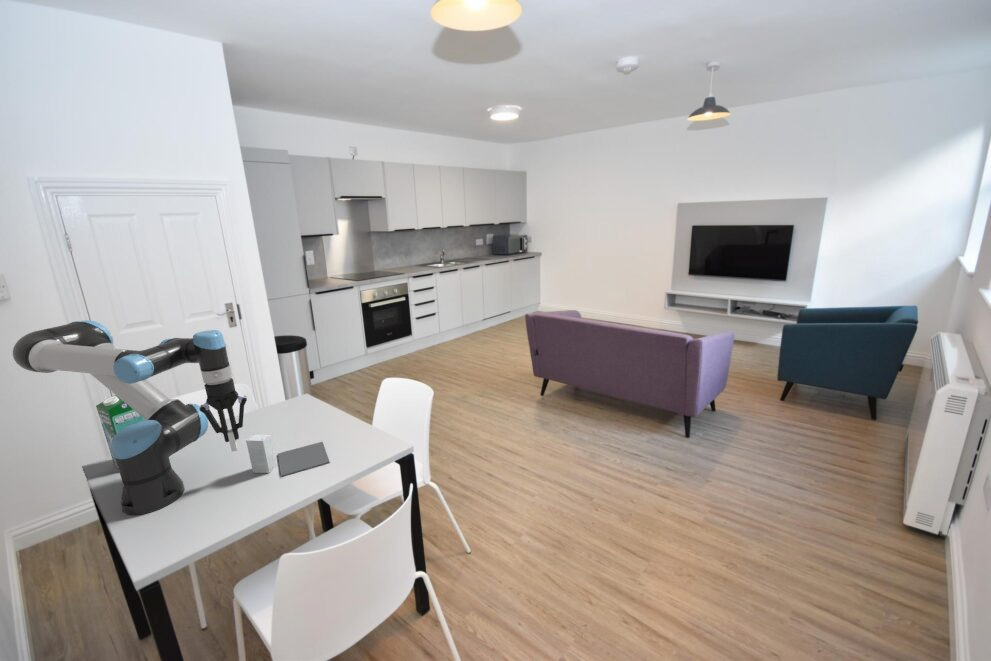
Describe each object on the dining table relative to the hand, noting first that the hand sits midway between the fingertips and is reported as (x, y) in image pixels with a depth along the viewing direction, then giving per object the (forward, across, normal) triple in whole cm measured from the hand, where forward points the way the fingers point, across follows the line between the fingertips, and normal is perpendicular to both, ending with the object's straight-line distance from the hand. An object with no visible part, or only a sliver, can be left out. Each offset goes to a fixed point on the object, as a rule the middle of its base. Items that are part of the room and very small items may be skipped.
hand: (234, 449), depth 139 cm
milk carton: (+10, -33, +32) cm, 47 cm away
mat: (+10, +19, 0) cm, 22 cm away
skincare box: (+10, +7, 0) cm, 13 cm away
